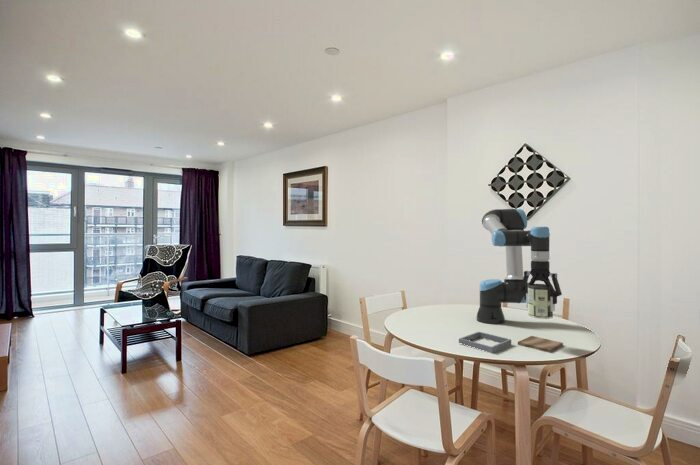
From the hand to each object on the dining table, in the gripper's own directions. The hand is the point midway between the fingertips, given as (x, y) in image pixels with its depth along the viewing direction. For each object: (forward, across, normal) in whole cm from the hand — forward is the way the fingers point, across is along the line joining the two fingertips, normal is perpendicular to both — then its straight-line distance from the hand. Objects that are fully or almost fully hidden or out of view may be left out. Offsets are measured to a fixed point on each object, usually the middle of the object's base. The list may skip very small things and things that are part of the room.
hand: (540, 308), depth 166 cm
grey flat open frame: (+17, -17, -18) cm, 30 cm away
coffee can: (+3, 0, 0) cm, 3 cm away
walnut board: (+17, 0, 0) cm, 17 cm away
